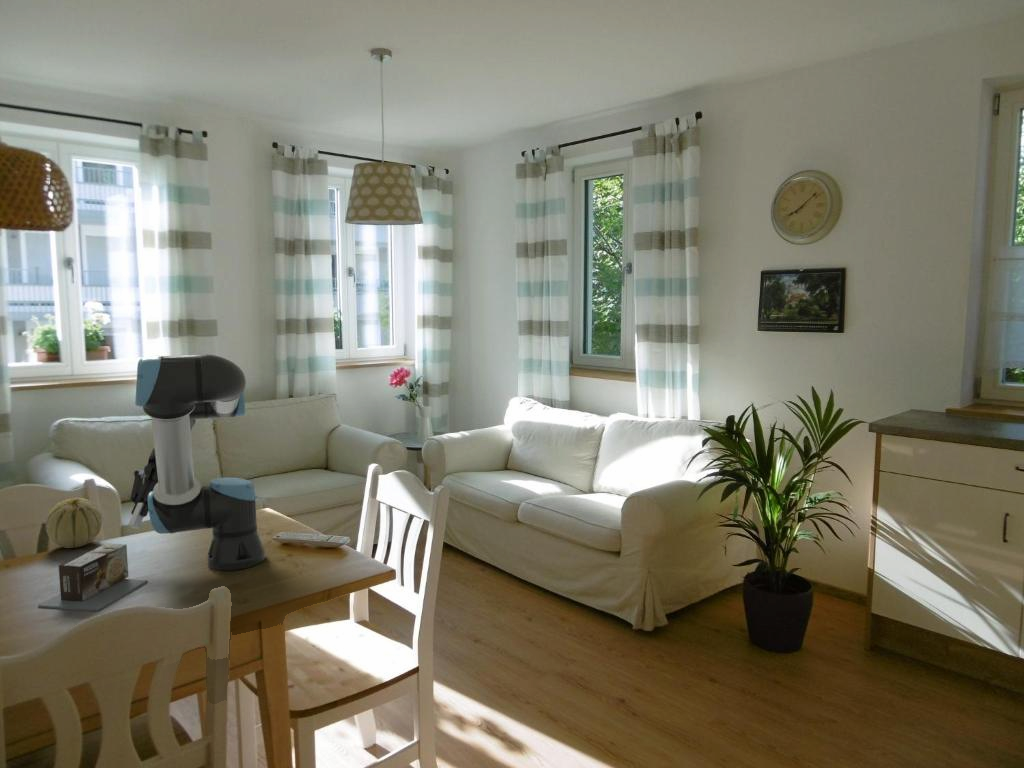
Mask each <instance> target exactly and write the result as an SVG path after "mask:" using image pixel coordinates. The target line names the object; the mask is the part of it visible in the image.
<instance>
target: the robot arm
mask: <svg viewBox="0 0 1024 768" xmlns="http://www.w3.org/2000/svg"><path fill="white" fill-rule="evenodd" d="M246 380H247V379H246V376H245V373H244V372H243V370H242V369H241V368H240V366H238V365H237V364H236V363H234V362H233V361H231V360H229V359H227V358H225V357H222V356H219V355H214V354H204V353H203V354H188V355H187V354H186V355H162V356H161V355H160V354H157V355H156V356H144V357H142V358H140V359H139V360H138V363H137V367H136V383H135V384H136V385H135V386H136V387H135V405H136V407H137V406H138V407H142V409H143V412H144V414H145V415H146V416H147V417H150V419H151V427H152V436H153V449H152V450H151V453H150V455H149V456H148V459H147V460H148V461H147V464H146V465H145V466H144V467H143V469H141V470H140V471H138V470H134V471H133V474H134V481H133V485H132V489H131V494H130V498H129V499H130V501H131V502H132V503H133V504H134V506H133V508H132V510H131V511H130V512H131V517H130V520H129V522H128V524H127V525H129V527H131V528H132V529H133V530H137V529H138V530H139V528H140V525H141V524H142V521H143V519H144V518H145V517H147V516H148V515H149V519H150V523H151V526H152V529H153V530H154V532H156V533H157V534H161V535H163V534H171V535H172V534H175V533H183V532H184V533H185V532H192V531H197V530H198V531H199V530H207V529H212V538H211V542H210V547H209V550H208V554H207V557H206V560H207V567H209V569H211V570H215V571H216V570H217V571H225V572H226V571H237V570H243V569H244V570H245V569H249V568H251V567H252V568H253V567H254V566H257V565H259V564H261V563H263V562H264V560H265V559H266V550H265V547H264V545H263V543H262V540H261V538H260V535H259V533H258V522H257V521H258V520H257V507H256V506H257V505H256V500H257V496H256V489H255V485H254V483H253V482H252V481H251V480H248V479H244V478H240V477H218V478H213V479H211V480H210V481H209V483H208V484H209V485H202V484H201V482H200V481H199V480H198V479H197V478H196V477H195V473H194V472H195V471H194V460H193V459H194V458H193V456H194V455H193V445H192V431H193V428H194V427H195V425H196V421H197V420H202V419H216V418H219V419H220V418H235V417H242V416H244V415H245V413H246V402H245V401H246V400H245V394H244V391H245V388H246V384H247V381H246Z"/></svg>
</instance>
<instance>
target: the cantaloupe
mask: <svg viewBox="0 0 1024 768" xmlns="http://www.w3.org/2000/svg"><path fill="white" fill-rule="evenodd" d="M102 526H103V518H102V513H101V510H100V509H99V507H98V506H97V505H96V503H94V502H93V501H91V500H89V499H86V498H84V497H73V498H72V497H71V498H67V499H64V500H61V501H60V502H58V503H56V504H55V505H54V506H53V507H52V509H50V511H49V512H48V514H47V517H46V519H45V531H46V534H47V536H48V538H49V539H50V540H51V542H53V544H54V545H57V546H59V547H62V548H68V549H69V548H70V549H73V548H79V547H83V546H85V545H88V544H90V543H92V541H93V540H95V539H96V537H97V536H98V535H99V533H100V531H101V529H102Z"/></svg>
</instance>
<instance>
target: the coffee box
mask: <svg viewBox="0 0 1024 768" xmlns="http://www.w3.org/2000/svg"><path fill="white" fill-rule="evenodd" d="M127 547H128V546H127V544H126V543H112V542H111V543H106V544H103V545H101V546H98V547H97V548H94V549H91V550H90V551H88V552H85V553H83V554H81V555H79V556H77V557H75V558H72V559H70V560H67V561H65V562H63V563H61V564H59V565H58V575H59V577H58V578H59V587H60V588H59V590H60V591H59V592H60V594H61V600H66V601H84V600H86V599H88V598H90V597H91V596H93V595H95V594H97V593H99V592H101V591H103V590H105V589H106V588H108V587H110V586H112V585H114V584H116V583H118V582H120V581H121V580H123V579H128V577H129V565H128V564H129V563H128V562H129V561H128V560H129V559H128V548H127Z"/></svg>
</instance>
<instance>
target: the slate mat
mask: <svg viewBox="0 0 1024 768" xmlns="http://www.w3.org/2000/svg"><path fill="white" fill-rule="evenodd" d="M146 583H148V579H133V578H129V579H128V578H125V579H123V580H121V581H120V582H118V583H116V584H114V585H112V586H110V587H108V588H106V589H105V590H103V591H101V592H99V593H97V594H95V595H93V596H91V597H90V598H88V599H86V600H84V601H66V600H61V593H58V594H56V595H55V596H52V597H51V598H49V599H47V600H45V601H43V602H42V603H39V604H38V605H37V607H38V608H42V609H43V608H44V609H58V610H60V609H61V610H72V611H74V610H75V611H87V612H88V611H89V612H99V611H101V610H102V609H104V608H106V607H108V606H109V605H111V604H113V603H114V602H116V601H118V600H120V599H121V598H124V597H125V596H127V595H128V594H130V593H131V592H133V591H135V590H136V589H138V588H140V587H141V586H143V585H145V584H146Z"/></svg>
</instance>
